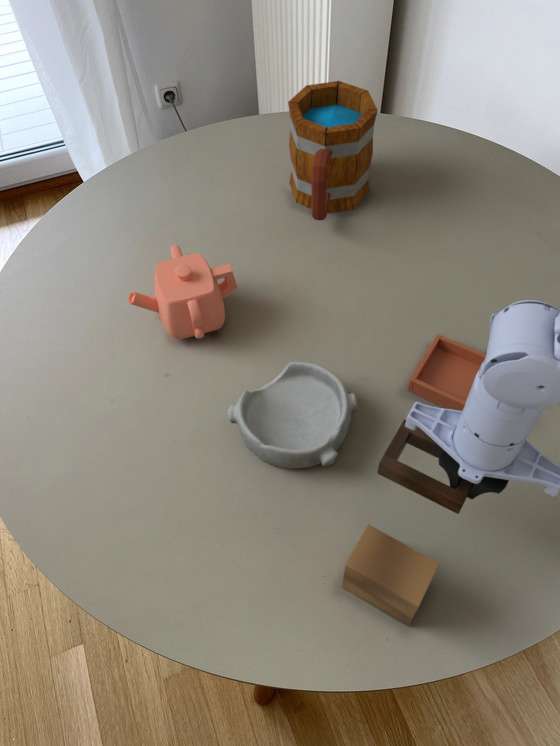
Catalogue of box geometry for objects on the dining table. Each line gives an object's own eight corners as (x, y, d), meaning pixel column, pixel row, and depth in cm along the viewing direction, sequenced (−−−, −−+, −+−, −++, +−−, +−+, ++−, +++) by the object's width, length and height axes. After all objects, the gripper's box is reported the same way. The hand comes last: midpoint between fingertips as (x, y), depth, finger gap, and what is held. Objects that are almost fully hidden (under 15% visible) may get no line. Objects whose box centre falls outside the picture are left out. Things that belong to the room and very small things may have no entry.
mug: (296, 158, 114) (296, 77, 102) (373, 165, 112) (382, 84, 100) (274, 235, 103) (270, 154, 91) (359, 245, 101) (367, 164, 89)
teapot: (134, 331, 93) (118, 284, 85) (182, 277, 98) (172, 229, 90) (201, 363, 89) (191, 317, 81) (247, 305, 95) (242, 257, 87)
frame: (480, 467, 68) (485, 456, 66) (458, 514, 65) (463, 504, 63) (401, 430, 71) (404, 418, 69) (376, 473, 68) (379, 462, 66)
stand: (427, 586, 71) (439, 563, 65) (408, 627, 68) (418, 607, 62) (362, 549, 73) (368, 523, 67) (341, 587, 71) (345, 564, 65)
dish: (218, 438, 82) (214, 417, 78) (281, 364, 88) (280, 341, 84) (314, 498, 77) (315, 479, 73) (373, 415, 83) (377, 394, 79)
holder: (517, 380, 86) (522, 369, 84) (493, 430, 82) (498, 420, 80) (434, 344, 90) (437, 333, 88) (407, 390, 85) (409, 379, 83)
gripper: (399, 415, 55) (382, 484, 67) (568, 494, 51) (520, 554, 62) (432, 357, 59) (411, 432, 70) (593, 427, 54) (544, 495, 65)
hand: (464, 486), depth 66 cm, fingers closed on frame, 1 cm apart
